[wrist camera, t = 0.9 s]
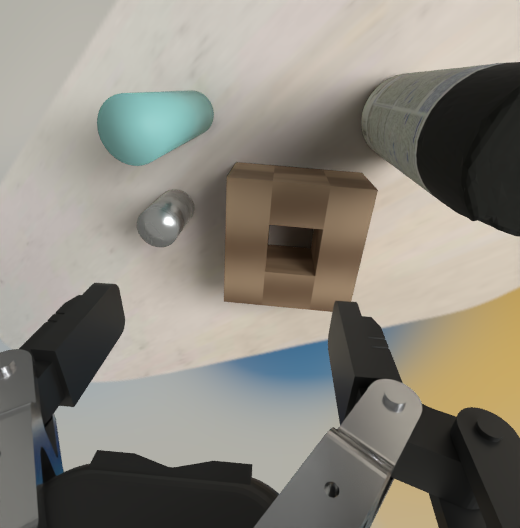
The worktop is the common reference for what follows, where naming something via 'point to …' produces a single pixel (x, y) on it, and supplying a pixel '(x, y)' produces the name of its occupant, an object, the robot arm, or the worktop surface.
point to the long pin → (151, 123)
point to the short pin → (165, 218)
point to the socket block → (294, 215)
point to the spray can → (454, 137)
